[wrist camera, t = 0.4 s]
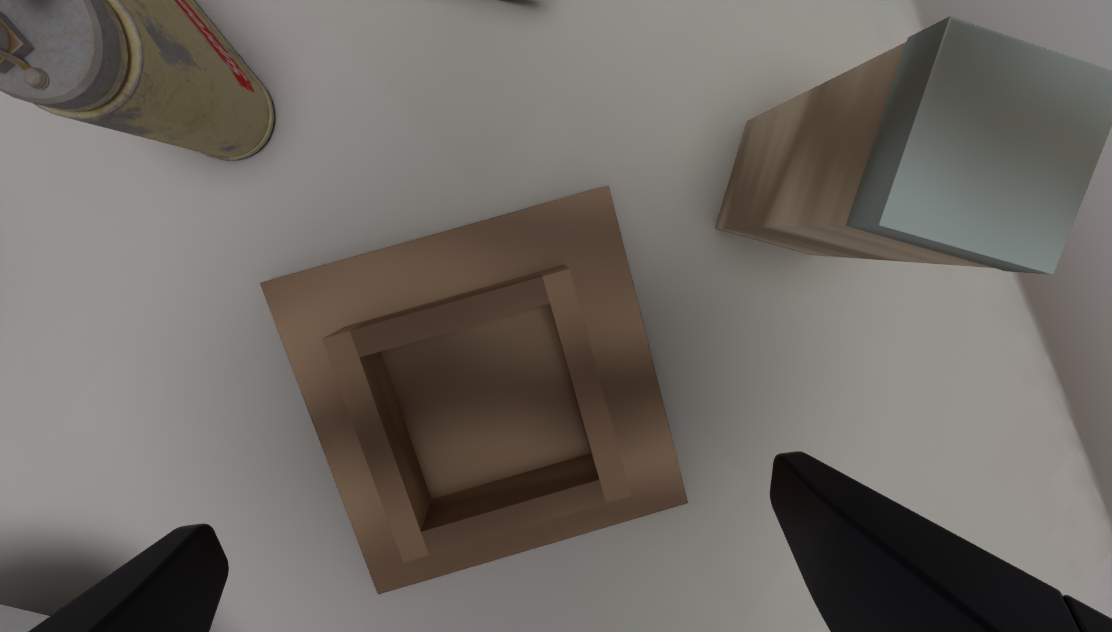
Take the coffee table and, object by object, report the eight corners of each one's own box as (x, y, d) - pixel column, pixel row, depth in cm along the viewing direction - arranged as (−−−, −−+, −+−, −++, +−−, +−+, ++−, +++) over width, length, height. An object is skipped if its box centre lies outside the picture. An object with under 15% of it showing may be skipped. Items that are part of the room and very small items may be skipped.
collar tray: (683, 496, 23) (707, 534, 20) (381, 585, 23) (361, 637, 20) (606, 187, 21) (620, 179, 18) (267, 281, 20) (224, 289, 17)
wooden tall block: (812, 256, 22) (1053, 274, 12) (713, 229, 21) (878, 225, 12) (847, 150, 21) (1130, 77, 11) (746, 119, 21) (950, 16, 11)
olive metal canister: (295, 123, 20) (69, 12, 10) (219, 185, 20) (-81, 135, 10) (159, -45, 18) (-255, -364, 9) (78, 22, 19) (-421, -217, 9)
